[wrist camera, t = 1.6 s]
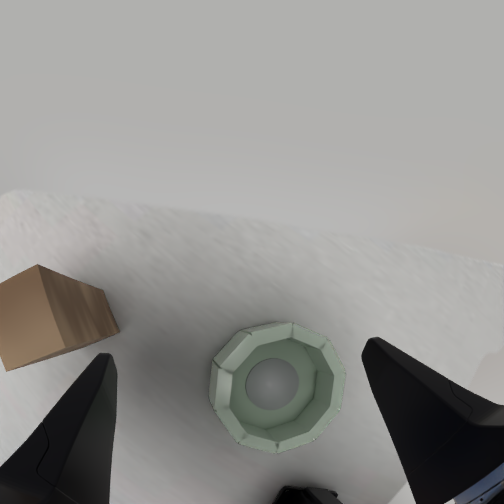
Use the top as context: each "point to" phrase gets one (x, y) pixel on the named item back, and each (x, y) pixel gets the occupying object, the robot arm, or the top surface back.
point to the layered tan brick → (49, 316)
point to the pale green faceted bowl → (276, 386)
